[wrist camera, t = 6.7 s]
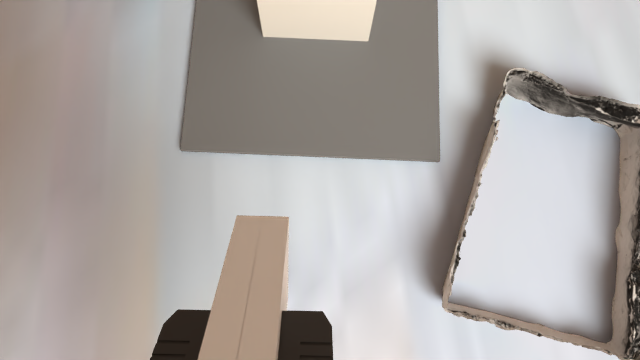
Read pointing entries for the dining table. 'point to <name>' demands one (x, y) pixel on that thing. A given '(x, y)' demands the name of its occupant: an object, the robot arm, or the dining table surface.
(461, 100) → the dining table surface
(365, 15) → the off-white block
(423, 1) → the charcoal mat
